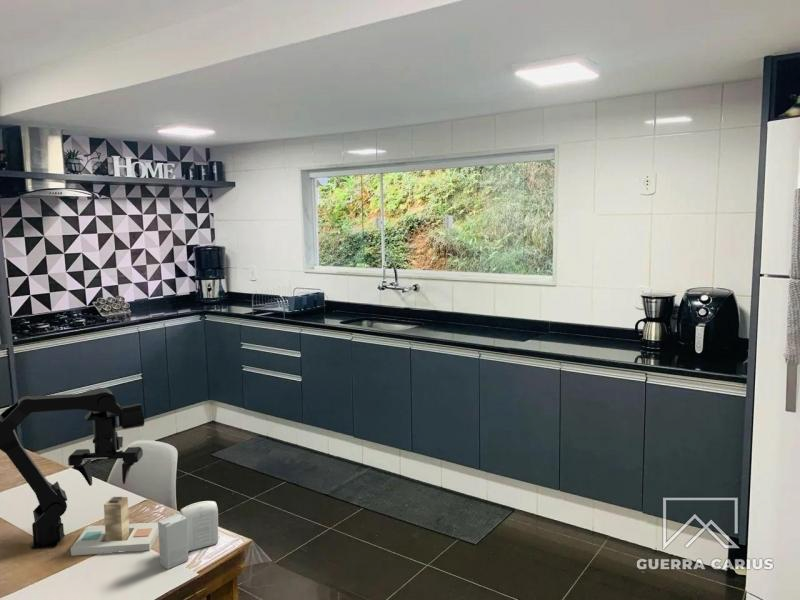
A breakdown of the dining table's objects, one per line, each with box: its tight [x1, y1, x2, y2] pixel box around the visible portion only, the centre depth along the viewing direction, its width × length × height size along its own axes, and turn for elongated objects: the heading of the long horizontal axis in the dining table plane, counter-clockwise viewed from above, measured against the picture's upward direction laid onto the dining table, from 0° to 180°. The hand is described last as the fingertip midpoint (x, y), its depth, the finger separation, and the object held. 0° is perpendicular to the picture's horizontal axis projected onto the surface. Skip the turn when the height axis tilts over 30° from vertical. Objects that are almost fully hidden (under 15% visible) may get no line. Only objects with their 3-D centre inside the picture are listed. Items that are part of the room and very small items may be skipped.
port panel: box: [70, 521, 159, 556], centre depth 166 cm, size 20×12×2 cm, turn 98°
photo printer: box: [179, 500, 219, 552], centre depth 164 cm, size 10×4×12 cm, turn 123°
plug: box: [103, 496, 130, 542], centre depth 166 cm, size 4×4×13 cm
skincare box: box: [157, 513, 190, 570], centre depth 155 cm, size 6×4×12 cm
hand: (107, 484), depth 173 cm, fingers open, 9 cm apart
